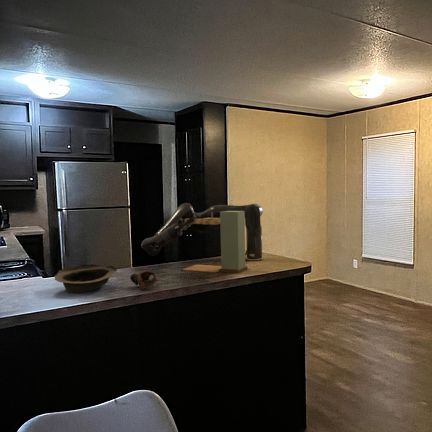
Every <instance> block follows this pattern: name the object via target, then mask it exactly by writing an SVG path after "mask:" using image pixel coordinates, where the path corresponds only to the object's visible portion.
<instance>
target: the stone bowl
mask: <svg viewBox="0 0 432 432" xmlns="http://www.w3.org/2000/svg"><path fill="white" fill-rule="evenodd" d="M116 273H117V267H116V266H114V265H108V266H103V265H99V264H98V265H97V264H93V263H92V264H81V265H79V266H78V265H77V266H69V267H66V268H61V269H59V270H58V272H57V273H56V275H54V281H56V282H58V283H62V285H63V287H64V289H65V291H67V292H69V293H72V294H77V293H88V292H90V291H93V290H96V289H98V288H100V287H102V286H104V285H106V284H107V283H108V282H109V279H110V277H112V276H113V275H115V274H116Z"/></svg>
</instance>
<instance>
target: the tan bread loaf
mask: <svg viewBox="0 0 432 432" xmlns="http://www.w3.org/2000/svg"><path fill="white" fill-rule="evenodd" d="M186 220H188V219H185V221H186ZM191 224H193V225H213V226H214V225H215V226H216V225H220V218H213V213H211V218H203V219H194V221H193V222H191Z"/></svg>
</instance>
